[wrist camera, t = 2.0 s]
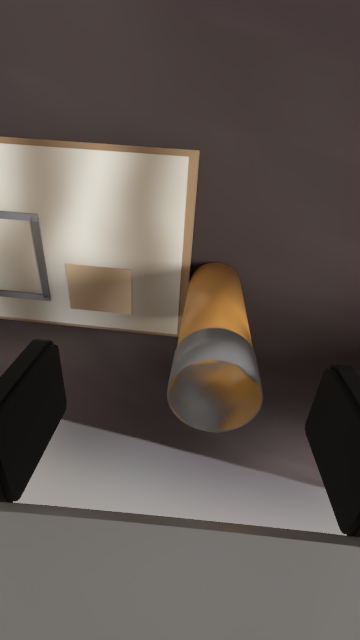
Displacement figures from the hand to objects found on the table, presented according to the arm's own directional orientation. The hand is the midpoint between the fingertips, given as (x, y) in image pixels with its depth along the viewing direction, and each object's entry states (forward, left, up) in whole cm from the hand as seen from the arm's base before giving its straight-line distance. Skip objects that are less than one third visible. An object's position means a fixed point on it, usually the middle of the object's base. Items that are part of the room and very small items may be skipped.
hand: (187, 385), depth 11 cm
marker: (-1, 0, -10) cm, 10 cm away
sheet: (+10, -2, -10) cm, 14 cm away
